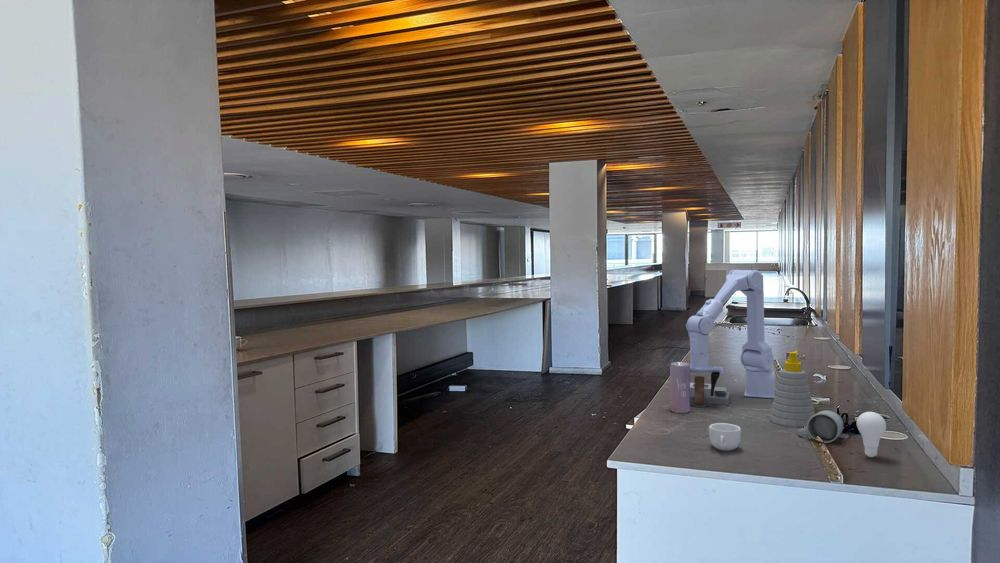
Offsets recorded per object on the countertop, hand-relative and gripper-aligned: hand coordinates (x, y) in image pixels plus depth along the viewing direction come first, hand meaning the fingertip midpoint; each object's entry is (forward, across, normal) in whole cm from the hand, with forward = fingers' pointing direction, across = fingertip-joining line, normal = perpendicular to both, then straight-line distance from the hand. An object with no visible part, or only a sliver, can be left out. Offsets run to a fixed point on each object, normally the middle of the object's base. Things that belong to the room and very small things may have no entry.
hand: (699, 394), depth 203 cm
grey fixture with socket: (+4, +2, +9) cm, 10 cm away
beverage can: (+4, -5, -9) cm, 11 cm away
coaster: (+4, 0, 0) cm, 4 cm away
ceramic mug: (+4, +33, -26) cm, 42 cm away
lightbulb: (+4, +43, -39) cm, 58 cm away
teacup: (+4, +10, -44) cm, 45 cm away
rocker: (0, +6, +9) cm, 11 cm away
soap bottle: (+4, +27, -11) cm, 29 cm away
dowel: (+3, 0, 0) cm, 3 cm away
